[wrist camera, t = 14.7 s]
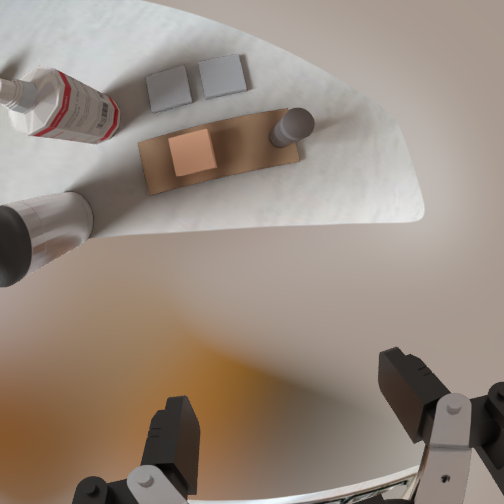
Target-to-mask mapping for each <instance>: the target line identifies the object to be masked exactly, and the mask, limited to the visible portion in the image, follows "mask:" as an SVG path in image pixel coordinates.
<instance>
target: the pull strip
mask: <svg viewBox="0 0 504 504" xmlns="http://www.w3.org/2000/svg"><path fill="white" fill-rule="evenodd" d="M203 129H207V130H208V131H209V133H210V136H211V140H212V145H213V150H214V154H215V159H216V163H217V168H213V169H209V170H204V171H200V172H196V173H192V174H188V175H184V176H176V173H175V168H174V164H173V159H172V154H171V150H170V145H169V140H168V138H172V137H176V136H179V135H183V134H187V133H191V132H195V131H199V130H203ZM313 129H314V119H313V117H312V115H311V114H310V113H309V112H308V111H307V110H305V109H302V108H293V109H291V110H288V108H286V109H280V110H274V111H268V112H262V113H256V114H251V115H246V116H240V117H236V118H231V119H226V120H221V121H217V122H213V123H208V124H204V125H200V126H196V127H192V128H188V129H184V130H180V131H177V132H173V133H169V134H166V135H162V136H159V137H155V138H152V139H149V140H145V141H142V142H139V143H138V147H139V152H140V157H141V161H142V166H143V171H144V175H145V179H146V184H147V188H148V192H149V195H153V194H157V193H160V192H164V191H168V190H172V189H176V188H179V187H183V186H187V185H191V184H196V183H200V182H204V181H208V180H212V179H217V178H221V177H225V176H230V175H234V174H239V173H244V172H248V171H253V170H258V169H263V168H268V167H273V166H279V165H284V164H289V163H295V162H300V161H299V156H298V151H297V147H296V142H297V141H299V140H301V139H303V138H305V137H307V136H309V135H310V134H311V133H312V131H313Z"/></svg>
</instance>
